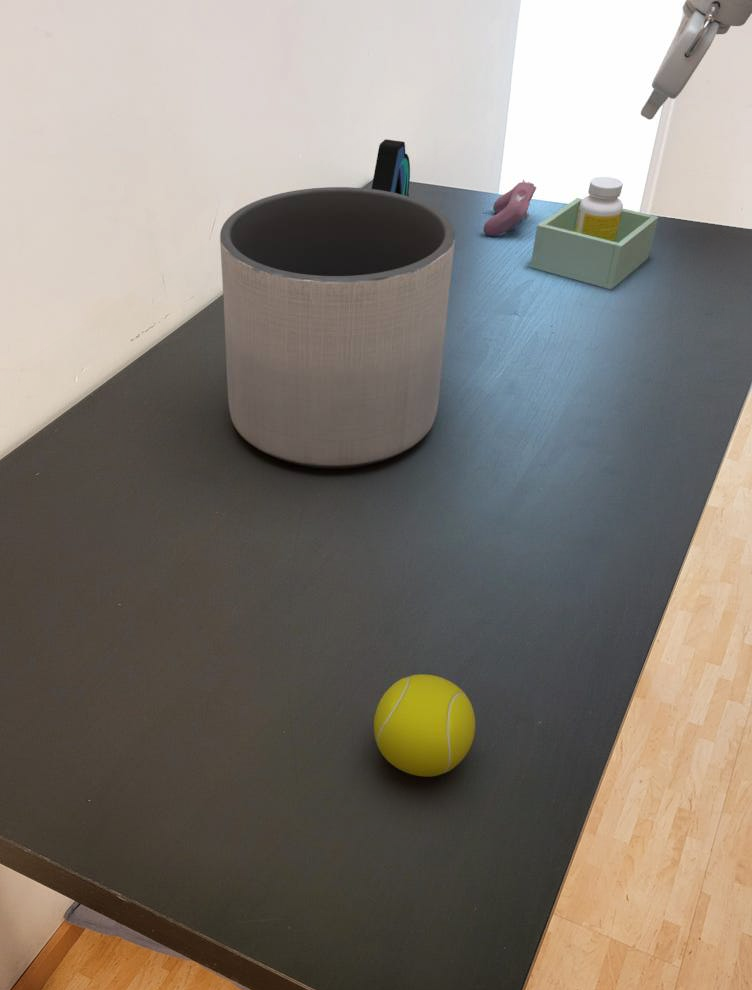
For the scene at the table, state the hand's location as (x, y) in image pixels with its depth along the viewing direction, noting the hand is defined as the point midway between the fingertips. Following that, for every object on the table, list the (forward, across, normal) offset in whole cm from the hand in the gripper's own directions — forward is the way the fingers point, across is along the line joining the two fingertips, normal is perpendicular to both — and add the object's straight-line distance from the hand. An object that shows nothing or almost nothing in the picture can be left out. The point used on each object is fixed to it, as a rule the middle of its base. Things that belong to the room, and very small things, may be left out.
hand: (652, 101), depth 125 cm
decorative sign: (+23, -26, +21) cm, 40 cm away
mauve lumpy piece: (+20, -8, +8) cm, 23 cm away
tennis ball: (+5, -106, -6) cm, 106 cm away
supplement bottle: (+14, -17, -3) cm, 22 cm away
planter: (+17, -66, +14) cm, 70 cm away
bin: (+14, -17, -4) cm, 22 cm away
